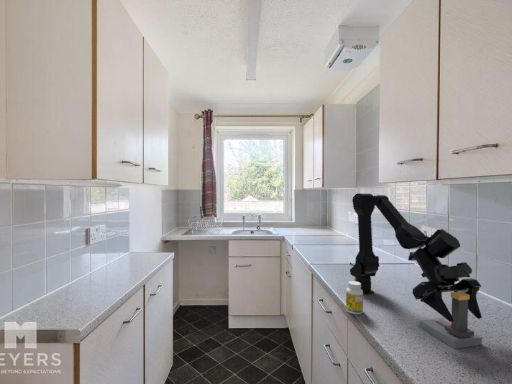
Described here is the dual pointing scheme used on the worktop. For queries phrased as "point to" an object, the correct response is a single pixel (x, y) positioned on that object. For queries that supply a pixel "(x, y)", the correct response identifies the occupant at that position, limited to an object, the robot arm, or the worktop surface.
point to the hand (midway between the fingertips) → (466, 319)
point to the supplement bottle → (354, 298)
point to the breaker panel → (448, 333)
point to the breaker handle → (459, 315)
